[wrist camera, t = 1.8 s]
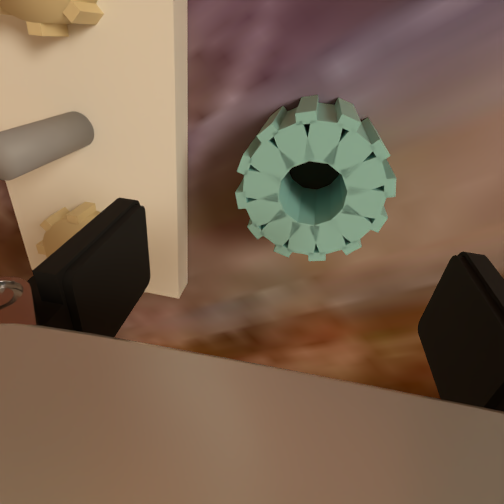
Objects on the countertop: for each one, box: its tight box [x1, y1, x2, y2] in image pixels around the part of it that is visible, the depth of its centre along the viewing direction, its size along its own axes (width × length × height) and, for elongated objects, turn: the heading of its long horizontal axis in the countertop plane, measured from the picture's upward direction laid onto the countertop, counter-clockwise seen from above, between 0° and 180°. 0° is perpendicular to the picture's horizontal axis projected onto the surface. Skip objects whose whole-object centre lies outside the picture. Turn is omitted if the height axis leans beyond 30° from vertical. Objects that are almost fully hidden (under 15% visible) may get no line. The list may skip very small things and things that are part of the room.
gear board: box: [0, 0, 188, 299], centre depth 19 cm, size 12×23×8 cm, turn 174°
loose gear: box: [235, 95, 396, 261], centre depth 19 cm, size 8×8×5 cm
